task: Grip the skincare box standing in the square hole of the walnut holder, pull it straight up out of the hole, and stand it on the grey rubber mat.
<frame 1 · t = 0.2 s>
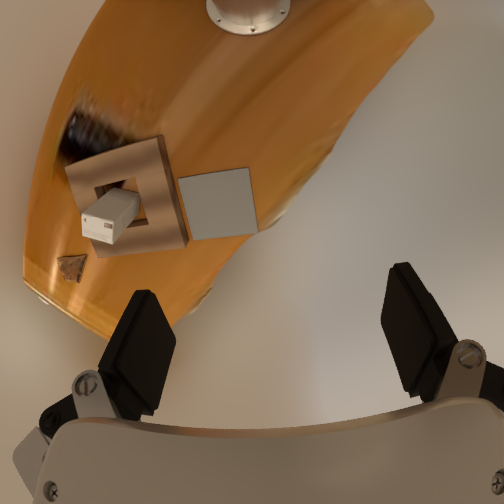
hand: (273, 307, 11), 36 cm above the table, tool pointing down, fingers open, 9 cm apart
skincare box: (127, 198, 47), resting in walnut holder
grey mat: (219, 205, 48), on the table
shard: (72, 260, 57), on the table
walnut holder: (127, 199, 47), on the table
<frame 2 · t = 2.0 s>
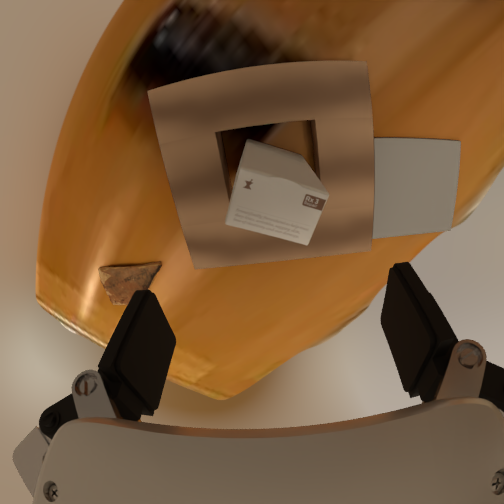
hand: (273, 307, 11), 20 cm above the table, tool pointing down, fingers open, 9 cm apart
skincare box: (271, 162, 28), resting in walnut holder
grey mat: (417, 187, 28), on the table
shard: (127, 272, 37), on the table
walnut holder: (271, 163, 28), on the table
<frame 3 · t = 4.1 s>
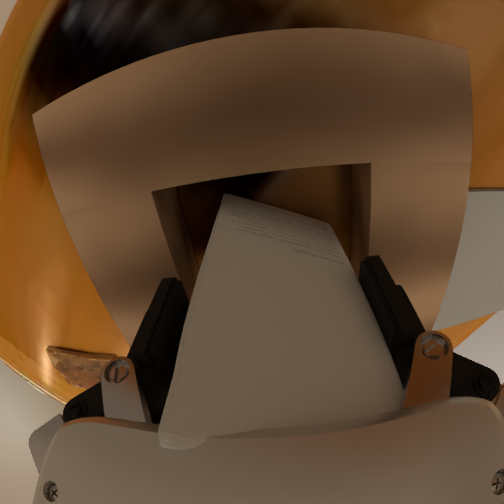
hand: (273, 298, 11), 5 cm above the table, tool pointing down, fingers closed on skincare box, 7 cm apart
skincare box: (271, 235, 15), resting in walnut holder, touching gripper
grey mat: (490, 260, 15), on the table
shard: (80, 355, 25), on the table
walnut holder: (271, 237, 15), on the table
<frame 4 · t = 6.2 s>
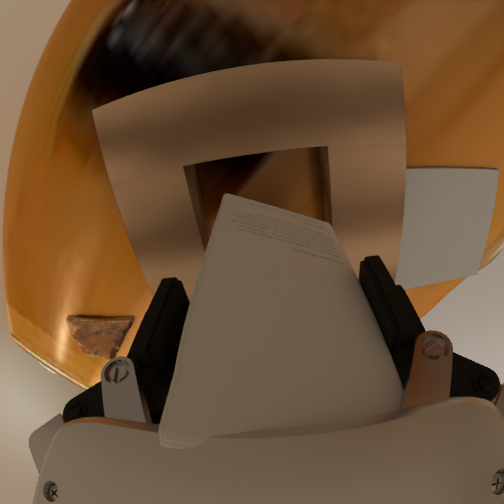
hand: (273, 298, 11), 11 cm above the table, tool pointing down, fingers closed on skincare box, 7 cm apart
skincare box: (271, 235, 15), point 6 cm above the table, touching gripper
grey mat: (447, 228, 21), on the table
shard: (98, 322, 30), on the table
walnut holder: (264, 204, 21), on the table
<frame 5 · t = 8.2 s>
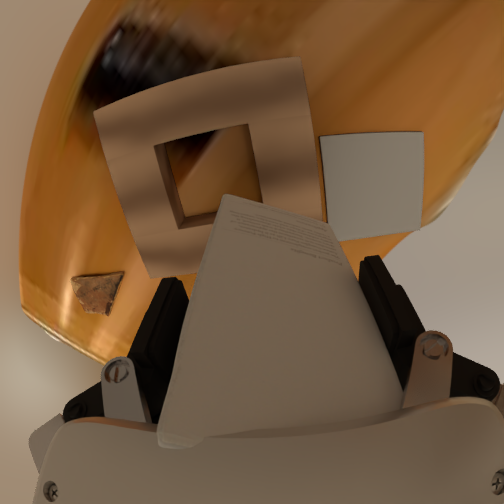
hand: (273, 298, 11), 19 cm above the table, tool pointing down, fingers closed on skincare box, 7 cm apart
skincare box: (270, 235, 15), point 14 cm above the table, touching gripper
grey mat: (376, 185, 28), on the table
shard: (96, 281, 37), on the table
walnut holder: (214, 171, 28), on the table
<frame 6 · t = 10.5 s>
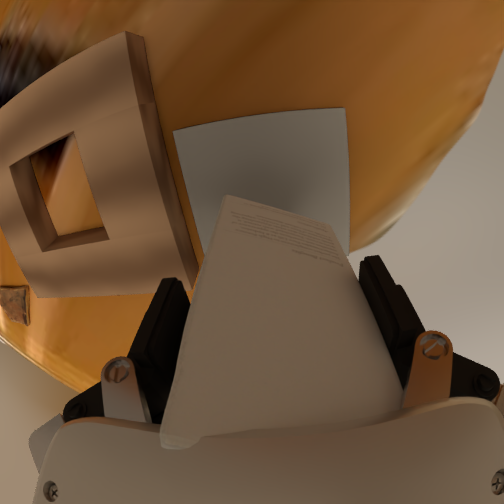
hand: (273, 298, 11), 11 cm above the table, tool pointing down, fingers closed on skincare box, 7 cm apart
skincare box: (271, 236, 15), point 6 cm above the table, touching gripper
grey mat: (269, 193, 20), on the table
shard: (14, 292, 30), on the table
walnut holder: (71, 186, 20), on the table
when the fingers open (7 cm above the table, at t = 12.4 s): skincare box drops 1 cm, resting on grey mat.
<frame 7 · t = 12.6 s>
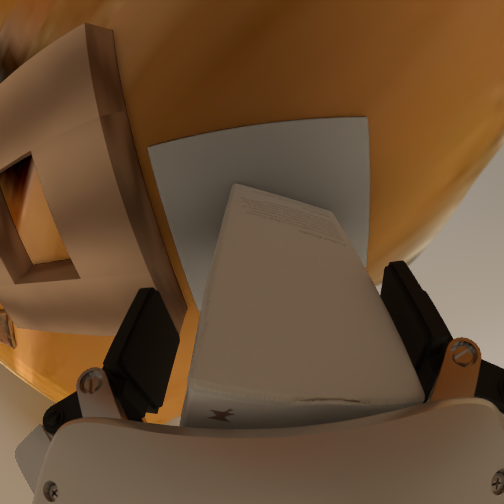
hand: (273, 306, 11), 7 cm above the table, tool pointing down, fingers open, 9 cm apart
skincare box: (277, 223, 16), resting on grey mat
grey mat: (270, 224, 17), on the table
walnut holder: (40, 211, 17), on the table
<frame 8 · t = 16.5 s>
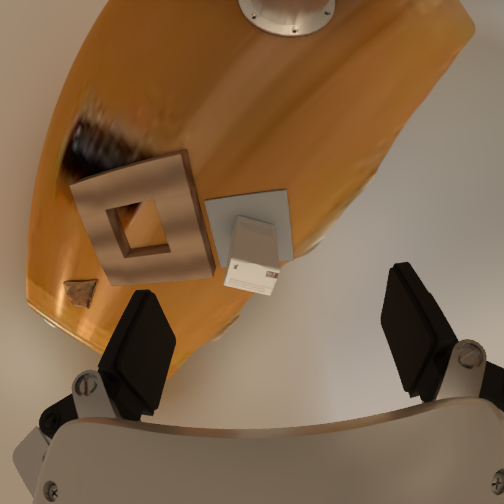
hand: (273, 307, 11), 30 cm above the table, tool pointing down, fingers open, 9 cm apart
skincare box: (253, 230, 43), resting on grey mat
grey mat: (251, 230, 43), on the table
shard: (80, 285, 52), on the table
walnut holder: (144, 222, 43), on the table
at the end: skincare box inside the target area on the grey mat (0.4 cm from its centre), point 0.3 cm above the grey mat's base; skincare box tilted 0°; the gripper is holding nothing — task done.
